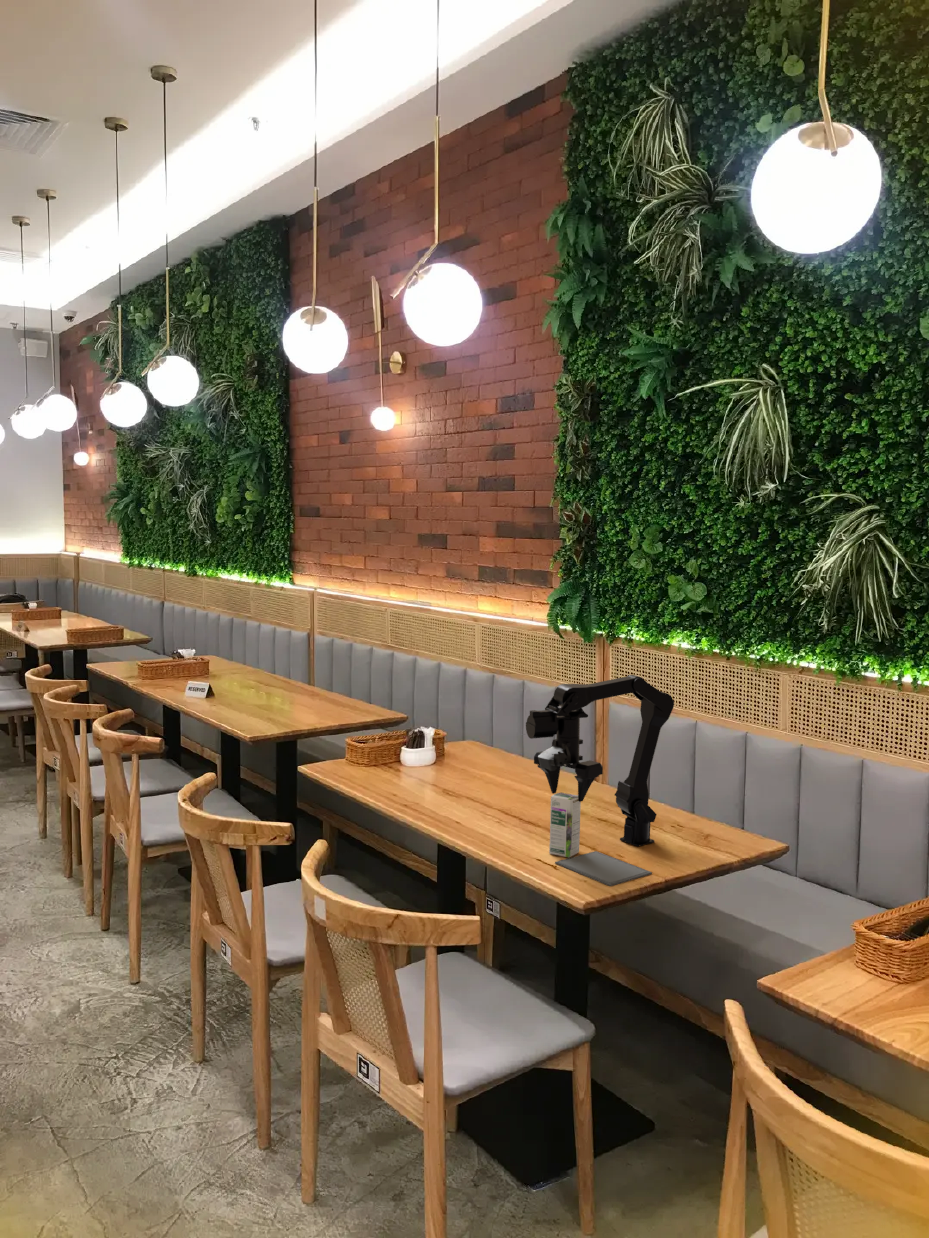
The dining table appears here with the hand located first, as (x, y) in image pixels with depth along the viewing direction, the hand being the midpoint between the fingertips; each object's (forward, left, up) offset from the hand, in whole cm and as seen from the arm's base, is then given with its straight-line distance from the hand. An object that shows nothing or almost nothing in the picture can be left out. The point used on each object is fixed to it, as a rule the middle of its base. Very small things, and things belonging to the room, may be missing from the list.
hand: (567, 797), depth 238 cm
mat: (+3, +15, -13) cm, 21 cm away
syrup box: (+3, +3, -13) cm, 14 cm away
